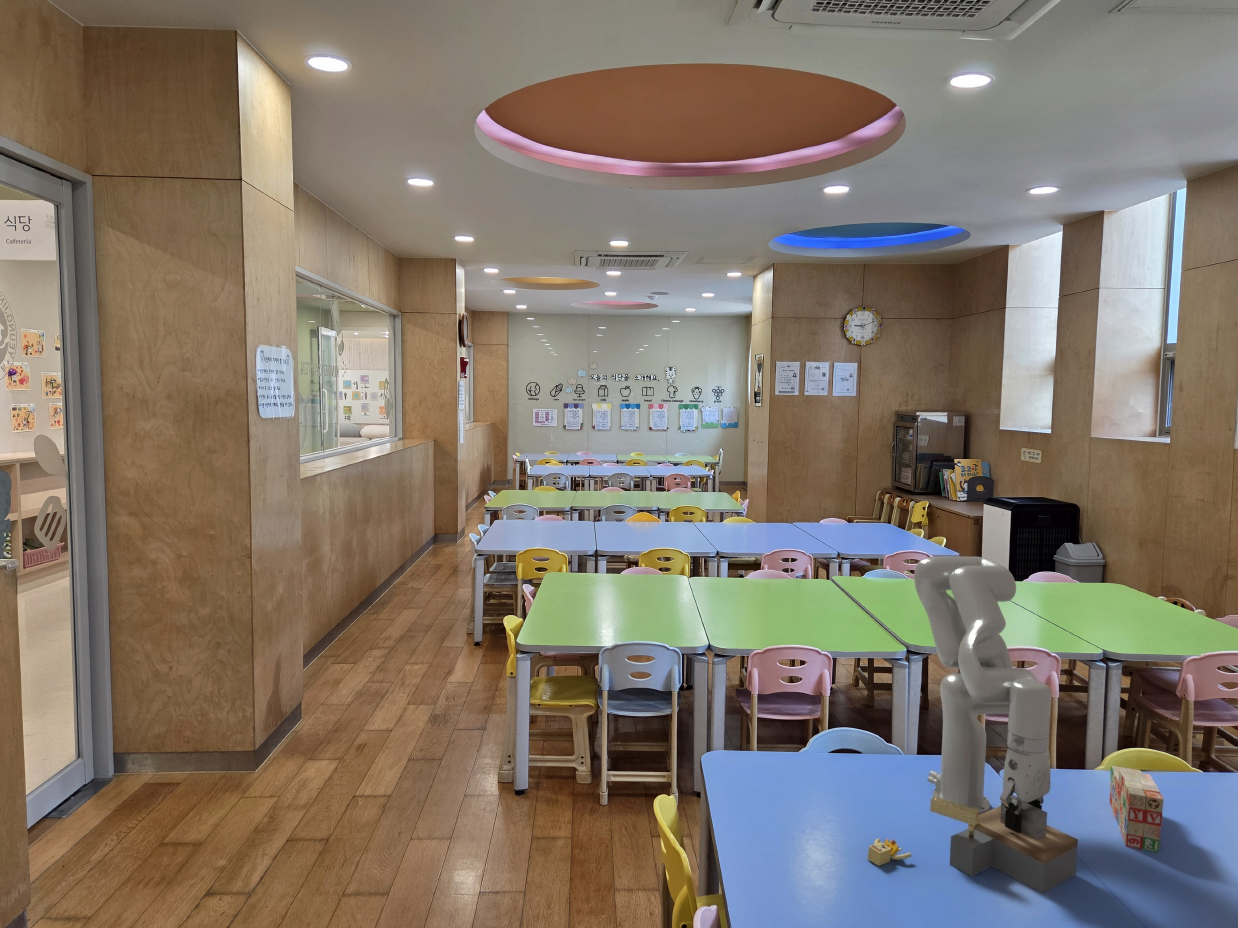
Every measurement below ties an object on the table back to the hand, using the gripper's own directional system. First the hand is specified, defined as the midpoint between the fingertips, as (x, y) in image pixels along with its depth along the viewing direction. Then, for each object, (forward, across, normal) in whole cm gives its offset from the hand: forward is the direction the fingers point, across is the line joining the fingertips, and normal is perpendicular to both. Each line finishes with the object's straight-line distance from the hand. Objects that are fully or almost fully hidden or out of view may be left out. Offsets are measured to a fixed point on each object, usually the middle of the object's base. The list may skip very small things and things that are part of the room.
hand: (1022, 824), depth 163 cm
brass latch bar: (+2, -11, +8) cm, 14 cm away
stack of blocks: (+9, +37, -4) cm, 38 cm away
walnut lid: (+2, 0, 0) cm, 2 cm away
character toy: (+9, -22, +15) cm, 28 cm away
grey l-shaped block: (+8, -3, 0) cm, 9 cm away
